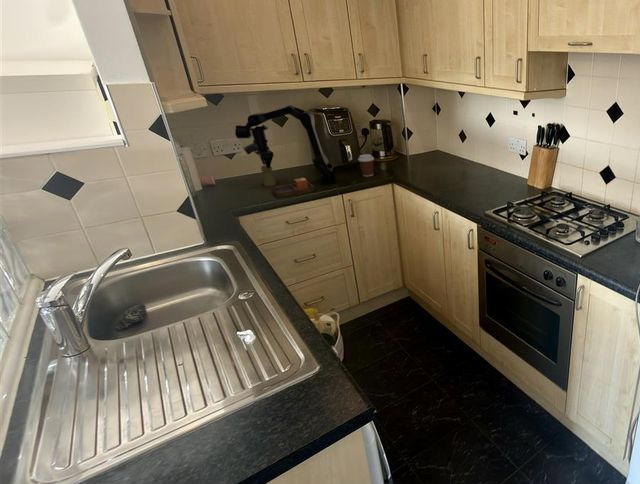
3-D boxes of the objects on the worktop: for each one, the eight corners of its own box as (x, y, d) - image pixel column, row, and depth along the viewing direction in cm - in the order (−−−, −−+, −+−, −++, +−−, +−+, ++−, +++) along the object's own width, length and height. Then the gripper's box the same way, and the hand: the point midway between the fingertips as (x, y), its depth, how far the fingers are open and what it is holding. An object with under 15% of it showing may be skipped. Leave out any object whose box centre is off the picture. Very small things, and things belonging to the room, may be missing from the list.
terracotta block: (305, 186, 223) (303, 177, 221) (308, 188, 220) (306, 179, 218) (295, 188, 220) (293, 179, 218) (298, 190, 217) (296, 181, 215)
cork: (271, 186, 224) (266, 167, 219) (261, 185, 225) (256, 166, 221) (278, 183, 229) (274, 164, 225) (269, 182, 230) (265, 163, 226)
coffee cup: (357, 176, 244) (354, 156, 239) (367, 172, 252) (364, 153, 247) (369, 177, 241) (366, 158, 236) (379, 173, 249) (376, 154, 244)
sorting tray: (308, 185, 227) (307, 181, 226) (314, 190, 219) (314, 186, 218) (272, 191, 216) (271, 187, 215) (278, 198, 208) (277, 193, 207)
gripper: (239, 136, 218) (246, 165, 224) (246, 143, 205) (253, 173, 211) (262, 134, 224) (268, 161, 231) (270, 140, 212) (277, 169, 218)
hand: (266, 166), depth 223 cm, fingers open, 9 cm apart
